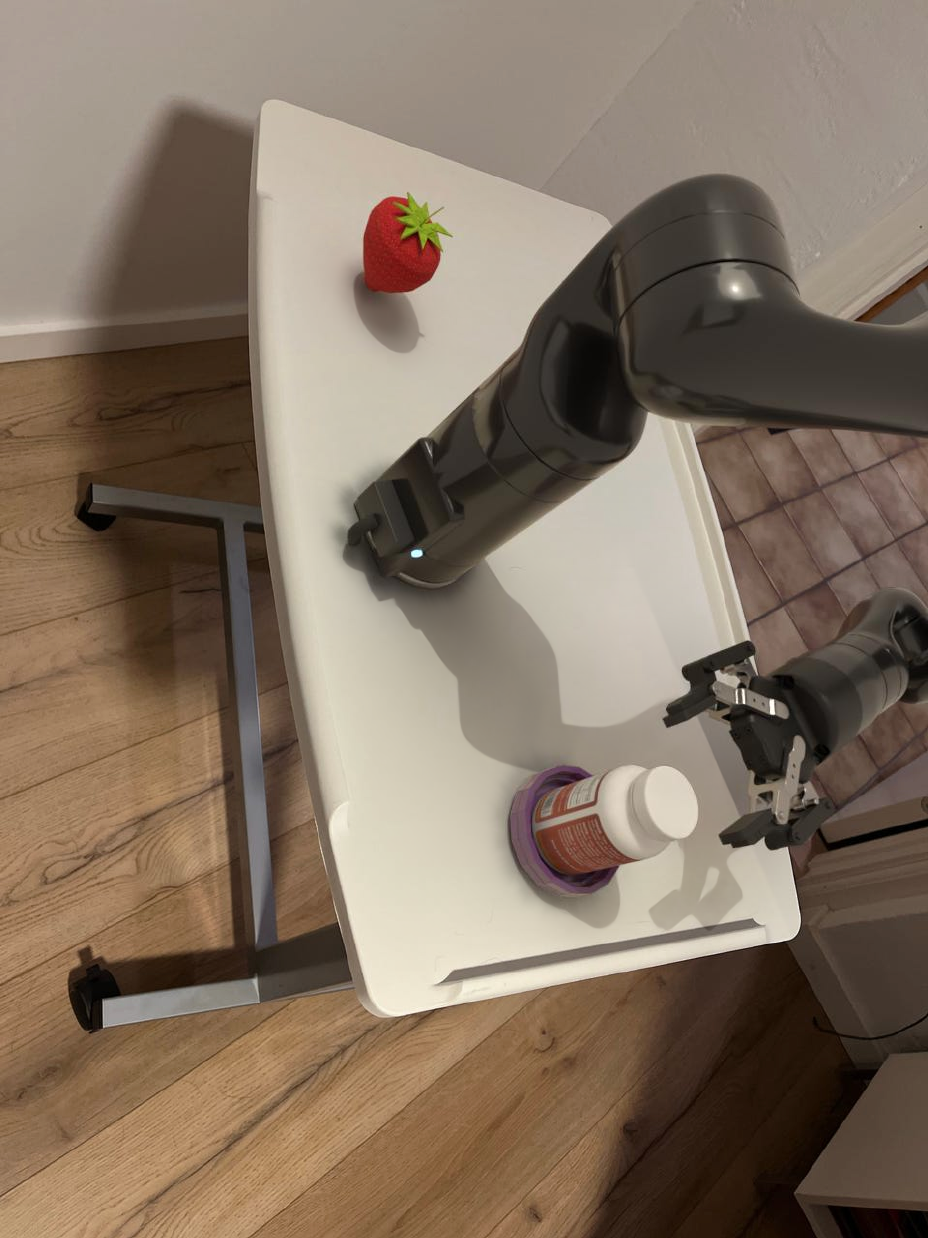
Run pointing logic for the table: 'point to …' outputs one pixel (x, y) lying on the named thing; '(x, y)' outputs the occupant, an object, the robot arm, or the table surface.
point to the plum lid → (525, 843)
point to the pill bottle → (613, 818)
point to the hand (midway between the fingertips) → (701, 779)
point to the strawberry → (400, 246)
